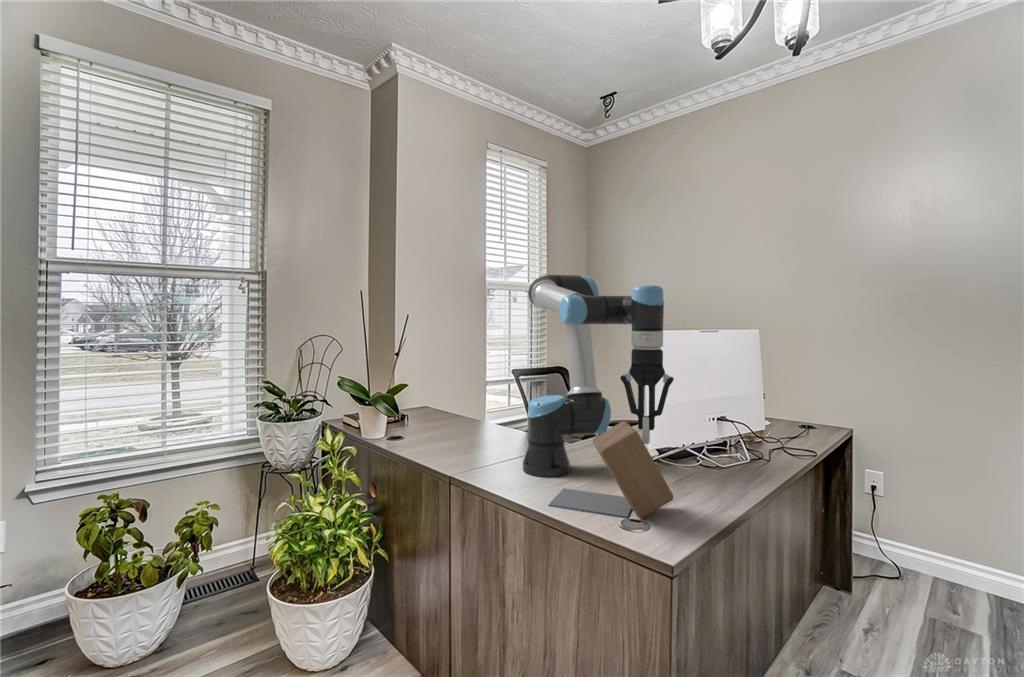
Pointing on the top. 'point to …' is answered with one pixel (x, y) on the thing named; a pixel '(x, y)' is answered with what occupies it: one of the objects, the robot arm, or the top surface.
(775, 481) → the top surface
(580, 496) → the mat
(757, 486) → the top surface
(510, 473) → the top surface
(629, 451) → the block
